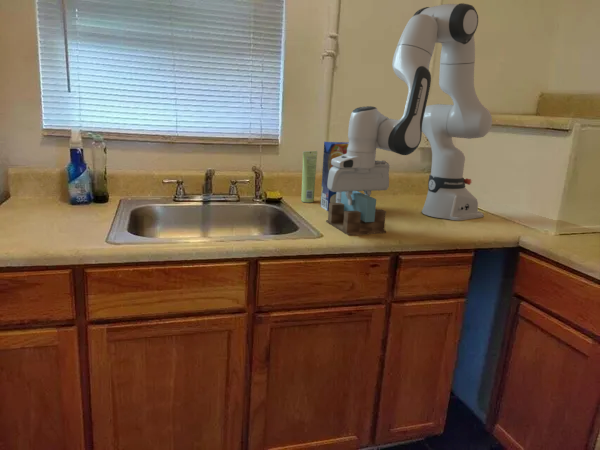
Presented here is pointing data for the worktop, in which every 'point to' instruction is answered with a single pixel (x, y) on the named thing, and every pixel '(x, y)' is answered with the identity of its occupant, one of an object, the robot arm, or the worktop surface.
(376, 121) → the robot arm
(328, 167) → the juice carton
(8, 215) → the worktop surface
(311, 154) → the tube
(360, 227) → the rack
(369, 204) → the slat
